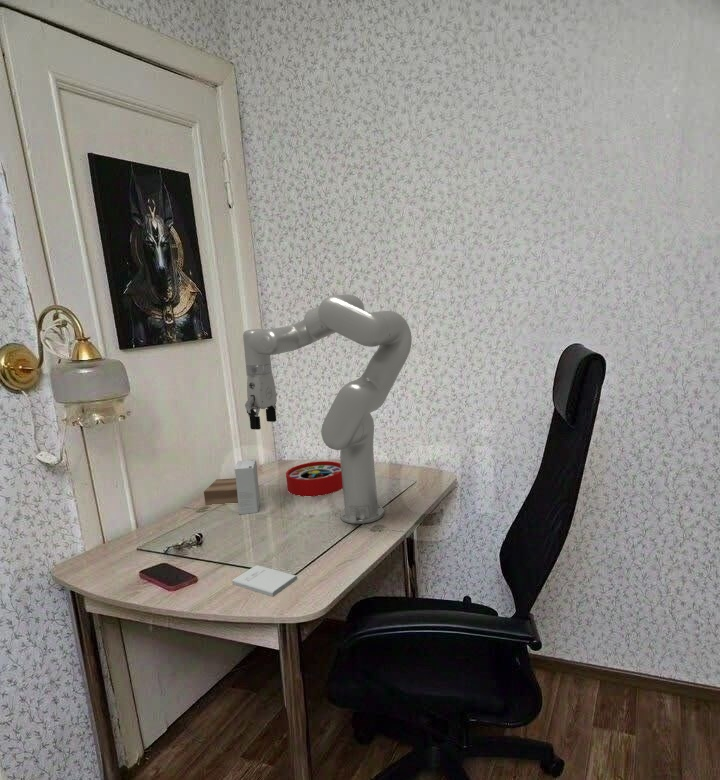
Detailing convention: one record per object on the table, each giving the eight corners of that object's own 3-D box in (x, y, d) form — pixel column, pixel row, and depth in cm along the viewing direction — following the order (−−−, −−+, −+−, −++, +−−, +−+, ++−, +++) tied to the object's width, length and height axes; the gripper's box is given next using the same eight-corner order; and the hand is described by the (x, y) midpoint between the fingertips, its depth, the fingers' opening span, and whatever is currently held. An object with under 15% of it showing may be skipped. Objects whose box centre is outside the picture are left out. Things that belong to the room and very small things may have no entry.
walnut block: (241, 504, 174) (239, 489, 173) (205, 506, 175) (203, 491, 174) (252, 491, 185) (250, 477, 185) (218, 493, 187) (216, 479, 186)
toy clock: (295, 462, 195) (350, 460, 191) (297, 477, 196) (351, 476, 192) (277, 480, 176) (337, 479, 172) (279, 497, 176) (339, 496, 173)
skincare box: (242, 505, 172) (236, 460, 169) (261, 503, 172) (256, 458, 170) (239, 515, 163) (233, 468, 161) (259, 513, 164) (253, 466, 162)
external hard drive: (273, 599, 116) (232, 586, 123) (297, 581, 122) (258, 570, 129) (272, 592, 115) (231, 579, 122) (297, 574, 122) (257, 563, 129)
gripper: (255, 374, 154) (260, 432, 157) (283, 366, 170) (287, 419, 173) (232, 374, 156) (238, 432, 159) (262, 366, 172) (266, 418, 175)
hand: (263, 425), depth 166 cm, fingers open, 9 cm apart
